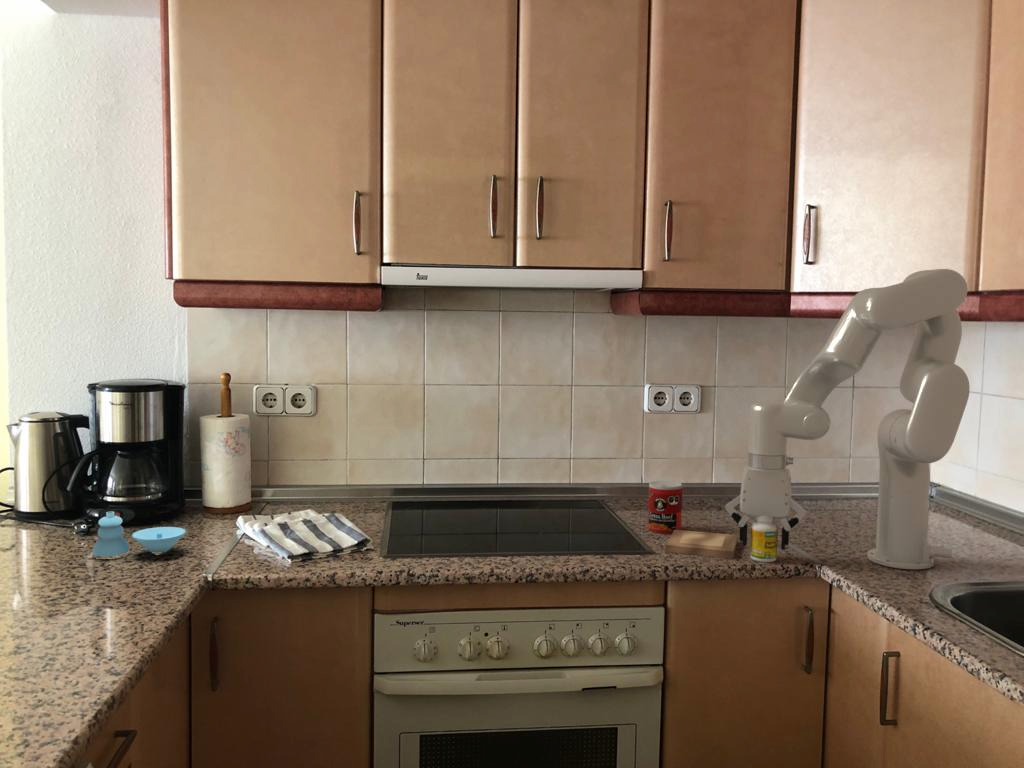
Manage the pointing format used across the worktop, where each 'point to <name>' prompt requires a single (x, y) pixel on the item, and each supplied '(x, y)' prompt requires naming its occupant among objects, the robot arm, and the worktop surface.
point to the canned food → (664, 506)
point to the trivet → (702, 543)
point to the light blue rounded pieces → (149, 538)
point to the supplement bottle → (764, 539)
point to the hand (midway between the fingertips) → (763, 545)
